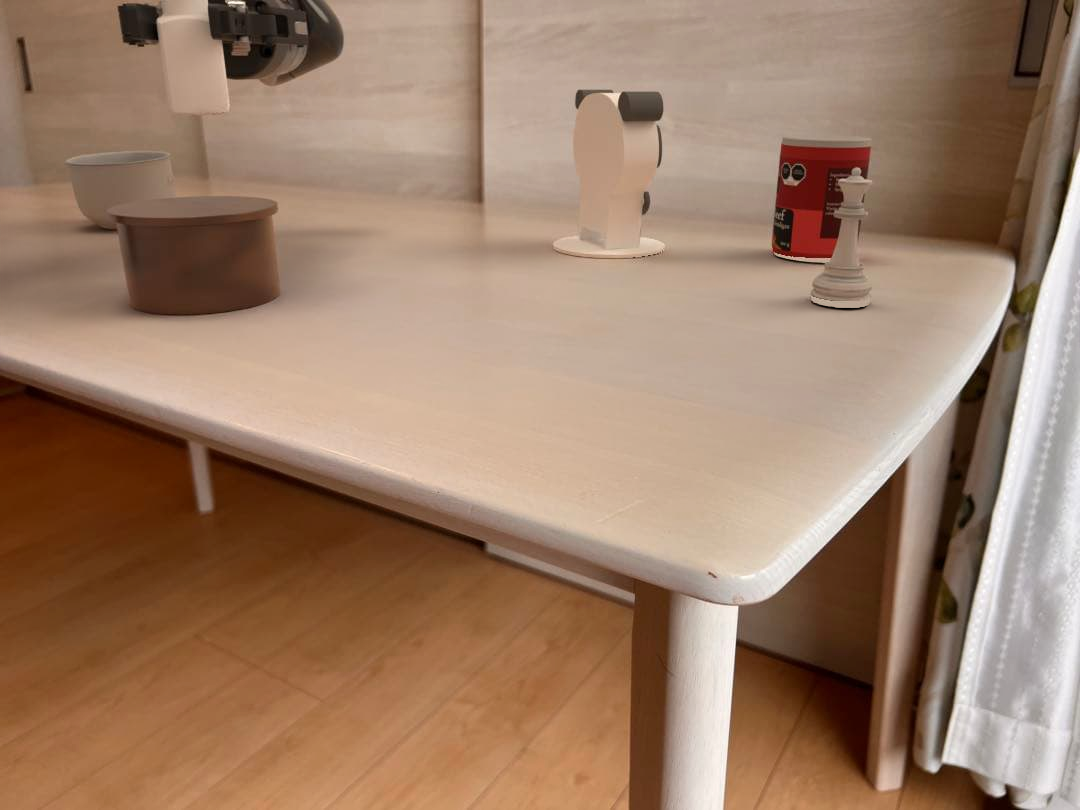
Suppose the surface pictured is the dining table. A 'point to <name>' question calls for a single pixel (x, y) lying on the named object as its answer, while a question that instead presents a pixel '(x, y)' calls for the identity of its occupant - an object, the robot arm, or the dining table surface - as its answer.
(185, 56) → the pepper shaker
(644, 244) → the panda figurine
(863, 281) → the chess piece
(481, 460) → the dining table surface
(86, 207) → the teacup
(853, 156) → the canned food
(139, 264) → the walnut stand
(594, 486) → the dining table surface
